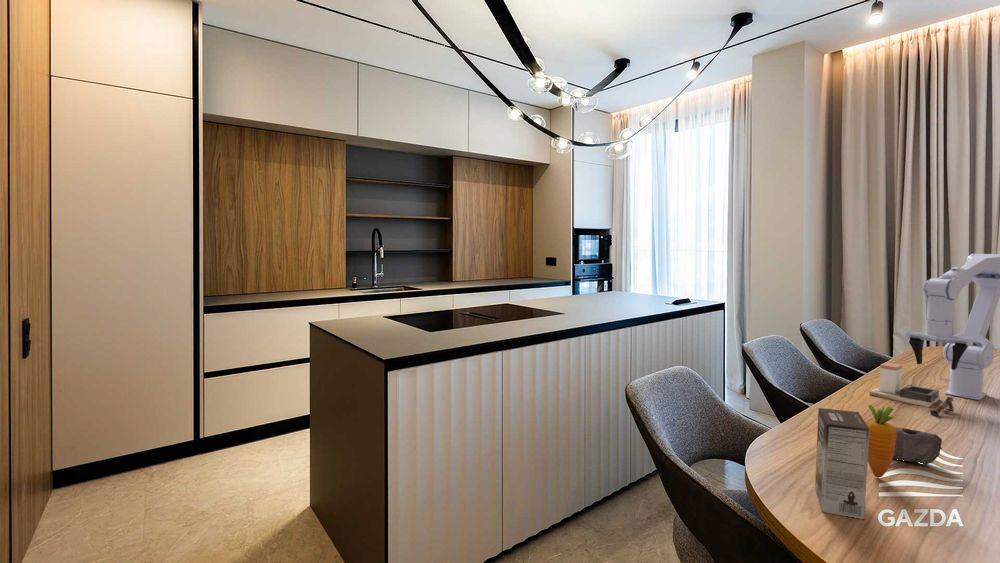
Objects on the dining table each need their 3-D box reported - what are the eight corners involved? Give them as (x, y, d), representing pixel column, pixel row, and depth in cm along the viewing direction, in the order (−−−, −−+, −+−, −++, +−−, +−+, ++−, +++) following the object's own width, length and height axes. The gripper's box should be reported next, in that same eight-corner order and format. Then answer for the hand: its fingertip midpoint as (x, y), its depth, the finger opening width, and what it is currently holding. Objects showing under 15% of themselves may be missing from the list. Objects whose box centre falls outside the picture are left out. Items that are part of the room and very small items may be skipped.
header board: (881, 388, 156) (882, 379, 156) (939, 399, 145) (940, 389, 145) (869, 394, 150) (870, 385, 149) (929, 407, 138) (929, 396, 138)
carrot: (855, 473, 100) (859, 400, 98) (878, 471, 100) (882, 400, 99) (876, 485, 95) (881, 409, 93) (900, 483, 95) (905, 408, 94)
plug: (884, 387, 153) (885, 362, 152) (900, 390, 150) (902, 364, 149) (878, 390, 150) (880, 364, 149) (895, 393, 147) (896, 367, 146)
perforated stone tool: (849, 451, 110) (851, 421, 110) (854, 444, 114) (855, 415, 113) (939, 473, 99) (941, 440, 99) (940, 465, 103) (943, 433, 103)
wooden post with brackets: (958, 409, 134) (955, 395, 133) (940, 425, 132) (937, 410, 131) (950, 407, 135) (947, 393, 135) (933, 422, 133) (929, 408, 132)
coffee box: (813, 488, 94) (817, 406, 92) (853, 495, 91) (858, 411, 90) (821, 512, 85) (826, 422, 84) (866, 521, 83) (871, 428, 81)
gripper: (903, 318, 145) (900, 363, 146) (970, 324, 133) (966, 373, 134) (910, 316, 149) (907, 360, 150) (976, 322, 137) (972, 369, 138)
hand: (936, 366), depth 142 cm, fingers open, 7 cm apart
